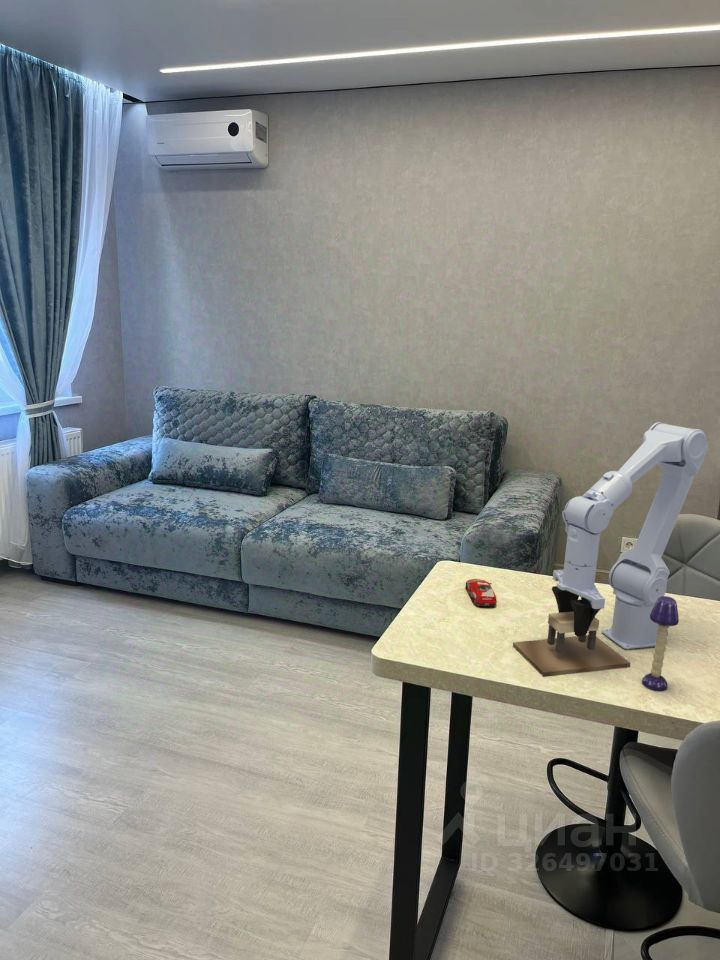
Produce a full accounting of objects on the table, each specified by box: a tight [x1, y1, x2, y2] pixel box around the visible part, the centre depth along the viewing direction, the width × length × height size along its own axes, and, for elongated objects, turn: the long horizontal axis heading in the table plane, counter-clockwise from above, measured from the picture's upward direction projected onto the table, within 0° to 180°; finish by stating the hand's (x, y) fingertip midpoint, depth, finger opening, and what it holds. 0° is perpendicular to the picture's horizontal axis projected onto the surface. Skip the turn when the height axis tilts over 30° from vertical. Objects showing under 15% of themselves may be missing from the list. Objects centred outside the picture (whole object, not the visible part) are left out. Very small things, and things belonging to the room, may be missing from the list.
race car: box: [465, 578, 498, 607], centre depth 162 cm, size 13×5×4 cm, turn 2°
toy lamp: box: [641, 595, 680, 692], centre depth 124 cm, size 5×5×17 cm
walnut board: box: [512, 634, 631, 677], centre depth 135 cm, size 18×12×1 cm, turn 105°
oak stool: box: [547, 612, 600, 653], centre depth 134 cm, size 4×8×6 cm, turn 103°
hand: (572, 629), depth 134 cm, fingers closed on oak stool, 4 cm apart
